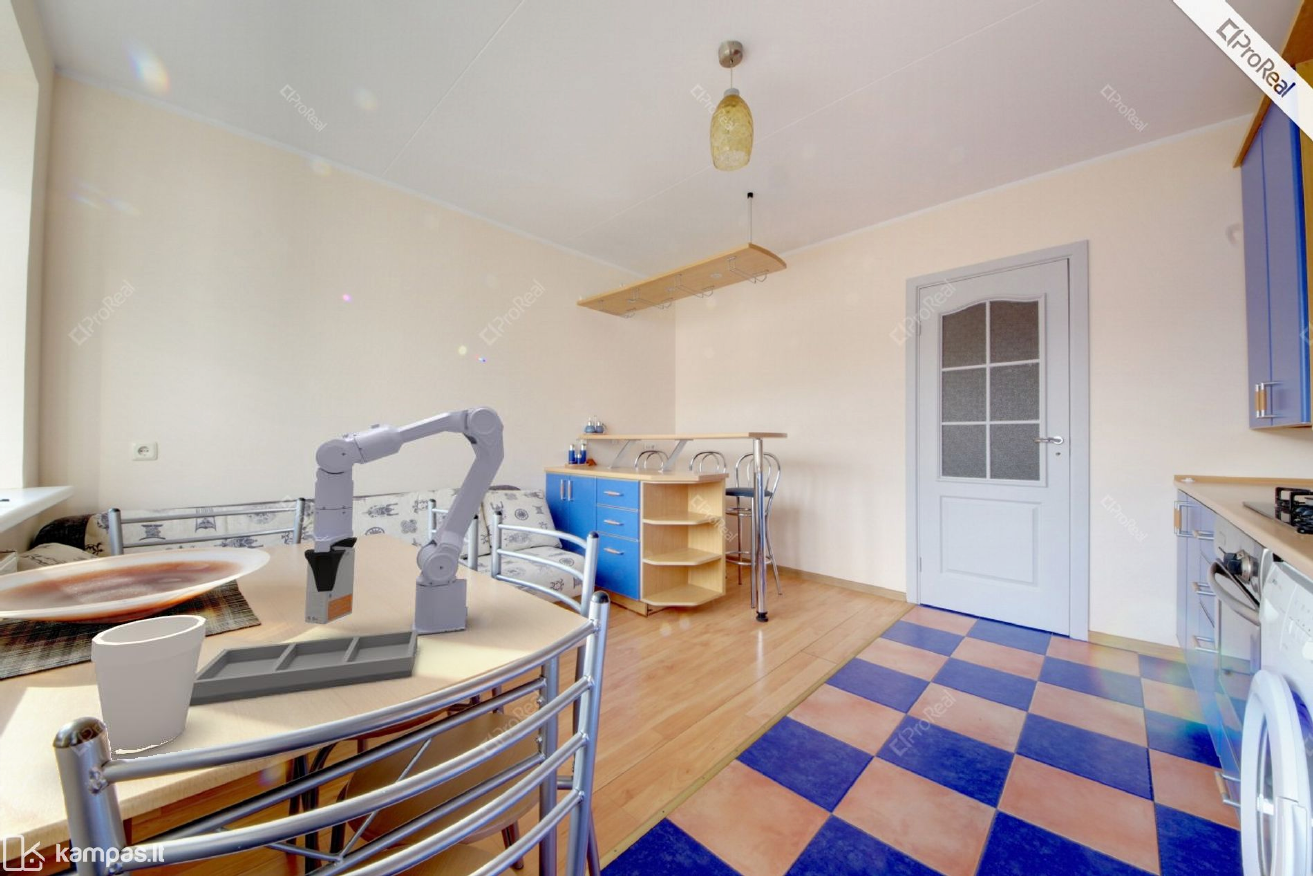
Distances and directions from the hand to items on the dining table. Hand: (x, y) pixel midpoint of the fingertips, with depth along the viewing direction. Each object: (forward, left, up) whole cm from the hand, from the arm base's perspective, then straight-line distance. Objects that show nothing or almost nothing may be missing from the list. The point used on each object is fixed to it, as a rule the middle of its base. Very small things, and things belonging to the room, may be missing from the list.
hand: (331, 584), depth 86 cm
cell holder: (-1, +12, -10) cm, 16 cm away
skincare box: (0, 0, -6) cm, 6 cm away
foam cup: (+13, +25, -11) cm, 30 cm away
